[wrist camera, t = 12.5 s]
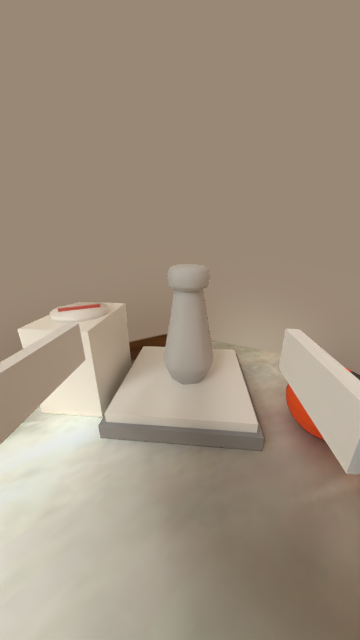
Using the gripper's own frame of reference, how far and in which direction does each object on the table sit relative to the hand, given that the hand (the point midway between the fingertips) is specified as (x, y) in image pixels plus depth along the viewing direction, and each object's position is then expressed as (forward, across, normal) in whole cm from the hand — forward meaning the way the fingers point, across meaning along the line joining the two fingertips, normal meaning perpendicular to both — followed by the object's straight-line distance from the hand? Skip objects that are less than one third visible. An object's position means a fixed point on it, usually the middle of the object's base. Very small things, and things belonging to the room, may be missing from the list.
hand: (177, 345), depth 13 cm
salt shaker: (+10, 0, -9) cm, 13 cm away
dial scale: (+10, -4, -11) cm, 15 cm away
